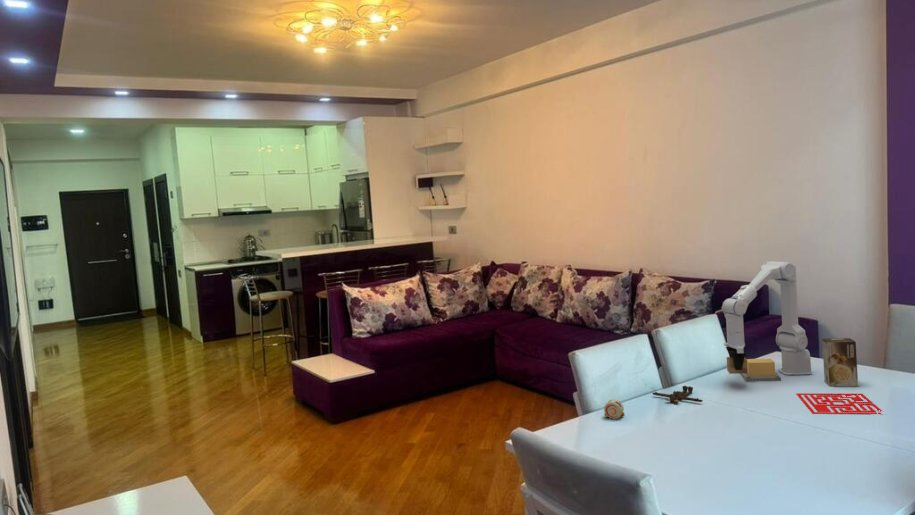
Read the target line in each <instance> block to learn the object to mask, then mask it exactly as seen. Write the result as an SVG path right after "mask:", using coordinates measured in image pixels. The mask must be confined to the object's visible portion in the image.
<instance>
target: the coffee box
mask: <svg viewBox="0 0 915 515" xmlns="http://www.w3.org/2000/svg"><path fill="white" fill-rule="evenodd" d="M821 340H822V358H823V361H822V362H823V377H824V383H825V384H826V385H827V386H828V387H832V386H833V387H834V386H835V387H834V388H836V386H837V387H859V378H858V359H857V356H858V355H857V344H856V343H857V342H856V340H854V339H852V338H851V337H841V338H839V337H838V338H835V337H833V338H832V337H831V338H830V337H829V338H828V337H827V338H821Z"/></svg>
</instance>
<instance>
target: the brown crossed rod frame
mask: <svg viewBox="0 0 915 515" xmlns="http://www.w3.org/2000/svg"><path fill="white" fill-rule="evenodd" d="M693 390H694V387H693V386H687V385H683V386H682V391H680V390H676V391H674V390H673V392H672V393H671V394H669V393H661V392H657V391H655V392H652V395H653V396H658V397H665V398H666V399H665V401H668V402H670V403H671V404H677V403H679V402H680V401H681V400H682V401H690V402H691V401H692V402H695V403H696V402H697V403H703V402H704V400H703V399H701V398H700V399H699V397H697V398H695V397H689V395H692V394H693Z"/></svg>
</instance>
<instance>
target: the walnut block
mask: <svg viewBox="0 0 915 515" xmlns="http://www.w3.org/2000/svg"><path fill="white" fill-rule="evenodd" d="M747 359H748V358H746V357H745V358H744V362H743V367H742V370H735V367H734V362H733V358H732V357H730V356H726V371H727V372H728V373H729V375H736V374H740V373H748V372H747ZM740 375H741V374H740Z"/></svg>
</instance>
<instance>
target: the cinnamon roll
mask: <svg viewBox="0 0 915 515" xmlns="http://www.w3.org/2000/svg"><path fill="white" fill-rule="evenodd" d="M603 411H604V414H603V415H604V417H605V418H607V417H609V418H608V419H611V418H612V419H611V420H616V419H617V420H618V419H620V418H624V417H625V412H624V405H623V403H622V402H621V401H620V400H619V399H615V398H613V399H609V400H608V401H607V402H606V403H605V405H604V407H603Z"/></svg>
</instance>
